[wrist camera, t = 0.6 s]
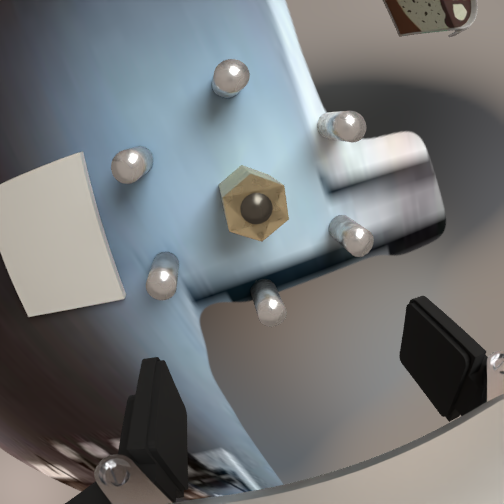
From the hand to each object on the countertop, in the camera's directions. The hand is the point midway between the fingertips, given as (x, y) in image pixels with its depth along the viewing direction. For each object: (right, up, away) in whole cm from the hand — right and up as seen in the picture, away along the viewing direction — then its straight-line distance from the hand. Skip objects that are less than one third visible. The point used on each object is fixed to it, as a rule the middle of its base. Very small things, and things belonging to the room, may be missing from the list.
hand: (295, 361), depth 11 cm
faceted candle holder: (-2, +10, +20) cm, 22 cm away
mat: (-24, +5, +18) cm, 30 cm away
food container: (+16, +33, +13) cm, 39 cm away
